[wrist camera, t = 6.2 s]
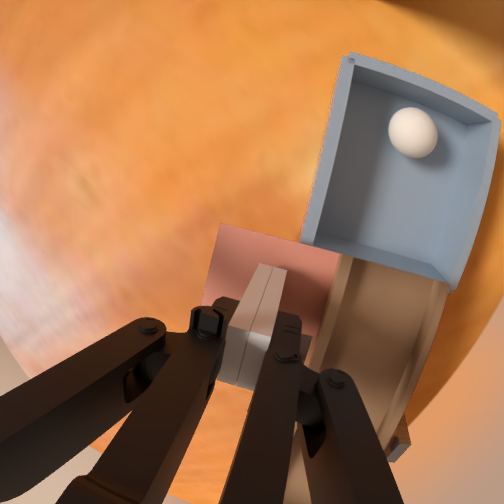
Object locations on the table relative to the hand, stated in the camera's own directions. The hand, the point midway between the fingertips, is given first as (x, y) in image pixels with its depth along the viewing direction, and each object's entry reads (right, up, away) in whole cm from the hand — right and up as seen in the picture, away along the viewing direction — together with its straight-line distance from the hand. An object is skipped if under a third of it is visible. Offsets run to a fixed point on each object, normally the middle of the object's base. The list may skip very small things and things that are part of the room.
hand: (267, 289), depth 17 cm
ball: (+10, +10, 0) cm, 14 cm away
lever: (+2, -10, +2) cm, 10 cm away
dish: (+10, +8, +3) cm, 13 cm away
